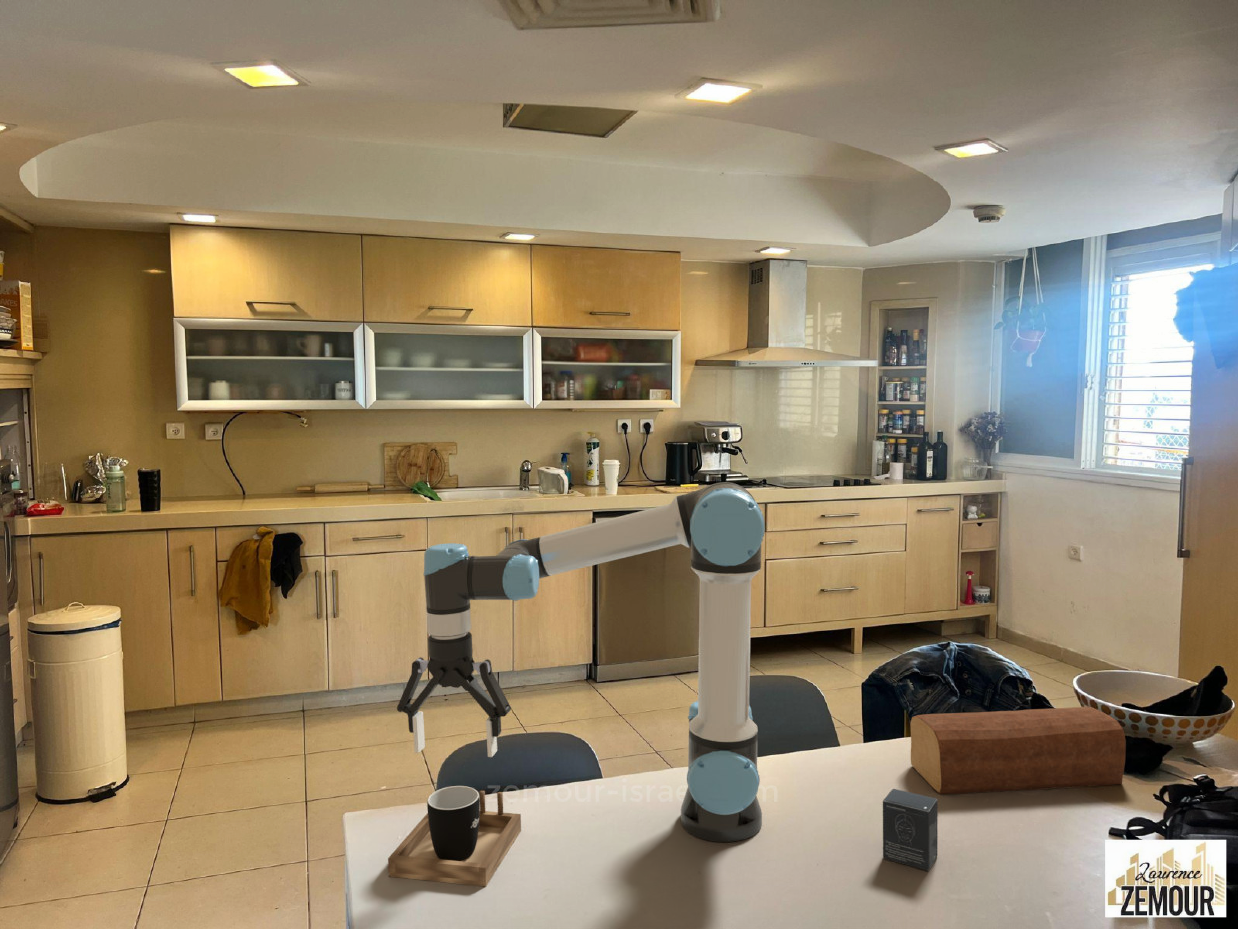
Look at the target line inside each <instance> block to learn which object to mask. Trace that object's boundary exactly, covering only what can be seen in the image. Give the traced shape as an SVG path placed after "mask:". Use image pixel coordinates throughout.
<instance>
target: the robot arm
mask: <svg viewBox="0 0 1238 929" xmlns="http://www.w3.org/2000/svg"><path fill="white" fill-rule="evenodd" d="M765 529H766V526H765V518H764V514H763V513H762V510H761V508H760V506H759V504H758V503H757V502H756V499H755V498H754V496H753V495H752V494H751V493H750V492H749V490H747V489H746V488H745V487H743V486H742V485H739V484H736V483H734V482H729V481H725V482H716V483H713V484H710V485H707V486H704V487H703V488H699V489H697V490H694V491H691V492H688V493H684V494H680V495H677V496H674V497H673V500H671V502H670V503H667V504H664V505H660V506H657V507H652V508H648V509H644V510H640V511H637V512H632V513H629V514H624V515H621V516H616V517H612V518H610V519H605V520H600V521H598V522H593V523H589V524H586V525H582V526H577V527H573V528H569V529H565V530H563V531H557V532H554V533H550V534H545V535H541V536H539V537H533V538H529V539H527V538H526V539H524V538H522V539H517V540H515V541H512V542H510V543H508V545H506V546H505V548H503V549H502V550H501V551H500V552H498V553H497V555H481V556H476V555H470V554H469V551H468V547H467V546H466V545H465V544H463V543H455V542H454V543H453V542H452V543H449V542H448V543H439V544H435V545H431V546H430V547H428V548H427V549H426V550H425V552H424V557H423V558H424V559H423V562H424V564H423V577H424V580H423V581H424V591H425V592H424V593H425V604H426V608H425V610H426V630H427V631H426V633H427V634H428V635H429V636H428V638H427V648H428V657H429V659H428V660H425V659H424V658H423V657H418V658H417V659H416V660H414V661H413V662H412V663H411V674H410V676H409V679H408V681H407V683H406V686H405V687H404V690H403V693H402V695H401V696H400V700H399V701H398V704H397V707H396V710H397V711H398V712H399V713H405V714H406V715H407V721H408V731H409V733H412V734H413V746H414V747H413V748H414V754H419V753H420V752H421V751H422V750H424V748H426V741H425V740H426V738H425V721H424V711H421V710H420V708H422V706H423V704H424V703H425V702H426V701H427V699H428V698H429V697H430V696H431V695H432V693H433V692H434V690H435V689H436V688H437V686H441V688H448V687H451V688H453V689H454V688H456V689H458V688H460V687H462V688H463V690H464V691H466V692H468V693H469V695H470V696H471V697H472V698H473V699H474V700H475V702H476V703H477V705H479V706H480V707H481V709H482V710H483V711H484V712H485V713H486V715H488V717H487V719H486V720H485V725H486V726H485V727H486V746H487V749H486V750H487V757H488V758H493V756H495V754H496V753H497V751H498V738H497V737H499V736H500V735H501V733H502V717H503V718H504V717H506V716H508V714H509V712H511V710H512V707H511V704H510V703H509V701H508V699H507V697H506V696H505V694H504V691H503V690H502V687H501V686H500V684H499V682H498V680H497V678H496V676H495V674H494V672H493V669H492V668H493V667H492V663H491V660H490V659H488V658H487V659H485V660H484V661H478V662H477V661H476V662H475V661H474V658H473V650H474V649H473V636H472V635H473V634H472V633H471V632H470V631H471V630H472V618H471V617H472V614H471V601H478V600H479V601H483V600H485V601H500V600H501V601H513V602H514V601H519V600H520V601H521V600H530V599H534V598H535V597H536V596H537V594H538V591H539V590H538V589H539V586H540V579H544V578H548V577H550V576H555V575H558V574H562V573H567V572H570V571H576V570H579V569H582V568H583V569H584V568H587V567H590V566H595V565H599V564H603V563H604V564H605V563H607V562H612V561H615V560H620V559H624V558H627V557H633V556H636V555H641V554H644V553H648V552H652V551H657V550H661V549H665V548H669V547H674V546H678V545H682V546H684V547H685V548H688V549H689V548H690V568H691V570H692V571H693V572H694V573H695V574H696V575H697V577H699V609H698V610H699V611H698V613H699V615H698V616H699V620H698V621H699V622H698V676H697V677H698V680H697V681H698V683H697V684H698V688H697V689H698V690H697V691H698V694H697V700H696V701H694V702H692V703H691V704H690V706H689V709H688V716H687V719H688V761H687V762H688V763H687V764H688V766H687V767H688V768H687V769H688V770H687V773H686V783H687V789H686V792H685V795H684V798H683V801H682V804H681V808H680V824H681V826H682V827H683V829H684V830H685V831H686V832H687V833H689V834H690V835H692V836H694V837H695V838H699V839H702V840H706V841H708V842H709V841H710V842H718V843H731V842H739V841H743V840H747V839H749V838H751V837H753V836H755V835H756V834H758V833H759V832H760V830H761V829H762V827H763V826H762V825H763V812H762V808H761V805H760V803H759V799H758V796H757V794H758V792H759V786H760V782H761V781H760V780H761V779H760V778H761V777H760V775H759V770H758V728H759V727H758V725H757V724H756V723H755V722H754V721H753V720H754V719H753V718H754V717H753V715H752V708H751V706H750V675H751V674H750V673H751V671H750V670H751V667H750V666H751V620H752V618H751V617H752V616H751V615H752V614H751V613H752V580H753V579H754V577H755V576H756V575H757V574H758V573H760V572H761V570H762V542H763V541H764V537H765V531H766V530H765ZM426 670H428V672H429V673H430V674H431V676H432V677H431V679H430V680H429V681H428V682H427V683H426V686H425V687H424V688H423V690H422V691H421V692H420V693H419V695H418V696H417V697H416V698H415V700H414V701H413V702H412V703H411V701H412V700H413V697H414V695H415V692H416V690H417V688H418V685H419V683H420V681H421V678H422V676H423V673H424V672H426ZM474 671H476V672H477V675H479V676H480V678H481V681H482V683H483V684H484V686H485V688H486V690H487V691H486V690H485V689H484V688H483V687H482V685H481V684H480V683H479V681H478V679H477V677H476V676H475V675H474V674H473V672H474ZM419 710H420V711H419Z"/></svg>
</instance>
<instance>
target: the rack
mask: <svg viewBox="0 0 1238 929" xmlns="http://www.w3.org/2000/svg"><path fill="white" fill-rule="evenodd" d="M478 793H479V799H480V813H479V829H478V838H477V843H476V847H475V850H474V852H473V854H472V855H471V856H470V857H468V858H467V859H464V860H462V861H452V860H442V859H439V858H438V856H437V855H436V853H435V851H434V848H433V844H432V839H431V834H430V827H429V820H428V812H427V813H426V814H425V815H424V816H423V818H422V819H421V820H420V821H419V822H418V823H417V824H416V826H414V828H413V829H412V830H411V832H409V833H408V835H407V836H406V837H405V838H404V840H403V841H402V842H401V843H400V844H399V845H397V847H396V849H395V850H394V851H393V852H392V853H391V854H390V856H388V858H387V864H388V865H387V866H388V877H389V878H390V877H392V878H400V879H410V880H421V881H430V882H440V883H446V884H447V883H448V884H460V885H469V886H477V887H487V886H488V884H489V883H490V881H491V879H492V878H493V876H494V875H495V873H496V872H497V870H498V868H499V867H500V866H501V864H502V862H503V861H504V859H505V857H506V855H507V854H508V853H509V851H510V849H511V847H512V846H513V844H514V843H515V841H516V839H517V838H518V837H519V835H520V834H521V832H522V820H521V818H522V816H521V813H512V812H504V795H503V794H504V793H503V792H502V791H499V792H497V793H496V794H497V795H496V799H497V811H487V810H486V791H485V790H480V791H478Z"/></svg>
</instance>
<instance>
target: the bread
mask: <svg viewBox="0 0 1238 929" xmlns="http://www.w3.org/2000/svg"><path fill="white" fill-rule="evenodd" d="M910 763H911V764H910V765H911V766H912V767H913V768H914V769H915V770H916V772H917V773H918V774H919V775H921V777H923V778H924V780H925V781H926V782H927V783H928V784H929V785H930V786H931V787H932V788H933V789H934V790H935V791H936V792H937V793H939V794H940V795H951V794H953V795H955V794H972V793H986V792H987V793H989V792H990V793H991V792H1008V791H1009V792H1011V791H1026V790H1045V789H1047V790H1048V789H1062V788H1067V789H1068V788H1080V787H1082V788H1083V787H1100V786H1114V785H1123V779H1124V778H1123V776H1124V772H1125V767H1126V766H1125V764H1126V737H1125V732H1124V729H1123V727H1122V725H1121V724H1120V723H1119V722H1118V719H1117V720H1116V719H1115V718H1113V717H1112V716H1110V715H1108V714H1106V713H1105V712H1103V711H1101V710H1099V709H1097V708H1094V707H1092V706H1077V707H1075V706H1073V707H1058V708H1057V707H1056V708H1037V709H1036V708H1035V709H1034V708H1033V709H1032V708H1031V709H1023V710H1022V709H1020V710H999V711H982V712H980V711H979V712H955V713H953V712H952V713H951V712H949V713H948V712H947V713H929V714H928V713H927V714H925V713H924V714H917V715H915V716H912V717H911V720H910Z"/></svg>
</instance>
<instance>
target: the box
mask: <svg viewBox="0 0 1238 929" xmlns="http://www.w3.org/2000/svg"><path fill="white" fill-rule="evenodd" d="M938 809H939V807H938V798H935V797H930V796H927V795H926V796H925V795H922V794H918V793H914V792H909V791H906V790H902V789H901V790H900V789H897V788H892V789H891V790H890V792H888V794H887V795H886V797H885V798H884V799H882V856H883V857H882V858H883V859H885V860H888V861H892V862H894V863H895V862H896V863H898V864H903V865H906V866H910V867H913V868H915V869H920V870H924V871H927V872H929V871H930V869H932V867H933V865H934V863H935V861H936V860H937V858H938V844H939V843H938V841H939V840H938V832H939V831H938V822H939V821H938V815H939V814H938Z"/></svg>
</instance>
